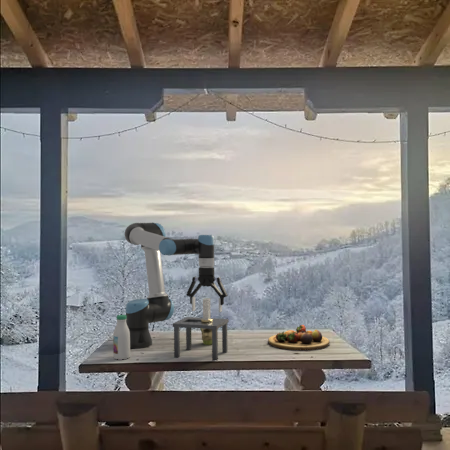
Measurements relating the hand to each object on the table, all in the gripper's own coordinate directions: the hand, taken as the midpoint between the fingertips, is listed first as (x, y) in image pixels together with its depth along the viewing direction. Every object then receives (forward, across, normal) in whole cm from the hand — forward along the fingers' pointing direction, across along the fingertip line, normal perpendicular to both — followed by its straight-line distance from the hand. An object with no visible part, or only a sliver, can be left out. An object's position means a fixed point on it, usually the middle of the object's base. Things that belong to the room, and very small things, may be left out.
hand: (206, 311), depth 236 cm
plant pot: (+21, -7, +22) cm, 31 cm away
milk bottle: (+21, -37, -16) cm, 45 cm away
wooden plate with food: (+22, +38, +36) cm, 57 cm away
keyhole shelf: (+21, -3, 0) cm, 21 cm away
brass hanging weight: (+13, 0, 0) cm, 13 cm away
